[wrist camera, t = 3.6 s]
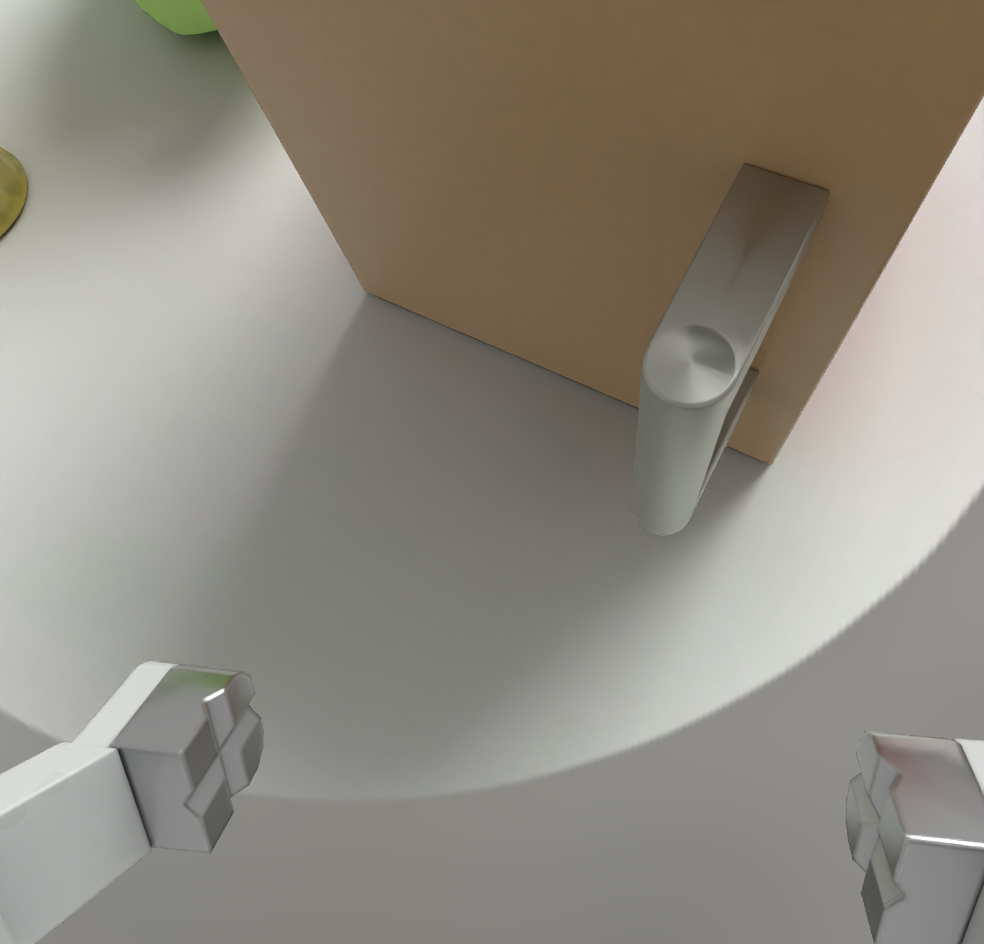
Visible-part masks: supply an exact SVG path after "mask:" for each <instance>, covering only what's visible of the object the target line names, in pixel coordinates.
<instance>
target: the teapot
mask: <svg viewBox="0 0 984 944" xmlns="http://www.w3.org/2000/svg"><path fill="white" fill-rule="evenodd" d="M135 1H136V3H137V4H138V5H139V6H140V7H141V8H142V9H143V10H144V11H145V12H146V13H147V14H148V15H150V16H151V17H152V18H153V19H155V20H156V21H158V22H159V23H160V24H162V25H163V26H165V27H166V28H168V29H169V30H171V31H173V32H175V33H177V34H183V35H189V34H200V33H205V32H210V31H216V30H217V28H216V27H215V25H214V23H213V21H212V20H211V18H210V16H209V14H208V12H207V11H206V9H205V7H204V5H203V4H202V2H201V0H135Z"/></svg>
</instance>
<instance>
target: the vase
mask: <svg viewBox="0 0 984 944" xmlns="http://www.w3.org/2000/svg"><path fill="white" fill-rule="evenodd" d="M26 194H27V178H26V174H25V172H24V169H23V167H22V165H21V164H20V162H19V161H18V160H17V159H16V157H14V156H13V155H12V154H10V153H9V152H7V151H6V150H4V149H2V148H1V147H0V236H2V235H3V234H4V233H5V232H6V231H7V230H8V229H9V228H10V226H11V225H12V224H13V223H14V221H15V220H16V218H17V217H18V215H19V214H20V212H21V210H22V208H23V206H24V203H25V199H26Z"/></svg>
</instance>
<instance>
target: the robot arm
mask: <svg viewBox="0 0 984 944" xmlns="http://www.w3.org/2000/svg"><path fill="white" fill-rule="evenodd" d="M254 694H255V691H254V687H253V684H252V680H251V677H250V675H248V674H246V673H244V672H242V671H234V670H225V669H217V668H209V667H201V666H193V665H185V664H179V665H177V664H170V663H162V662H154V661H147V662H145V663H143V664H140V665H138V666H137V667H136V668H135V669H134V671H133V672H132V673H131V674H130V675H129V676H128V678H127V679H126V680H125V681H124V682H123V683H122V685H121V686H120V687H119V688H118V689H117V690H116V692H115V693H114V694H113V695H112V696H111V697H110V699H109V700H108V701H107V702H106V703H105V704H104V706H103V707H102V708H101V709H100V710H99V711H98V713H97V714H96V715H95V716H94V717H93V718H92V720H91V721H90V722H89V723H88V724H87V725H86V727H85V728H84V729H83V730H82V731H81V732H80V734H79V735H78V736H77V737H76V738H75V739H74V741H73V742H72V743H66V742H60V743H59V744H57V745H55V746H53V747H51V748H49V749H47V750H45V751H43V752H42V753H40V754H38V755H36V756H34V757H32V758H30V759H28V760H27V761H24V762H22V763H21V764H19V765H17V766H15V767H13V768H11V769H9V770H7V771H5V772H3V773H1V774H0V944H36V943H37V942H39V941H40V940H41V939H42V938H44V937H45V936H46V935H47V934H49V933H50V932H51V931H52V930H53V929H55V928H56V927H57V926H59V925H60V924H61V923H62V922H64V921H65V920H66V919H67V918H68V917H70V916H71V915H72V914H74V913H75V912H76V911H77V910H79V909H80V908H81V907H82V906H84V905H85V904H86V903H87V902H88V901H90V900H91V899H92V898H94V897H95V896H96V895H97V894H99V893H100V892H101V891H102V890H104V888H106V887H107V886H108V885H110V884H111V883H112V882H114V881H115V880H116V879H117V878H118V877H120V876H121V875H122V874H123V873H125V872H126V871H127V870H128V869H130V868H131V867H132V866H133V865H135V864H136V863H137V862H138V861H140V860H141V859H142V858H143V857H145V856H146V855H147V854H148V853H150V852H151V850H152V849H151V847H155V848H164V849H173V850H182V851H192V852H201V853H211V852H212V850H213V848H214V846H215V845H216V843H217V841H218V839H219V837H220V836H221V834H222V832H223V830H224V829H225V827H226V825H227V823H228V821H229V820H230V818H231V816H232V814H233V813H234V811H233V806H232V801H231V797H232V796H234V795H235V794H237V793H238V792H240V791H241V790H242V789H244V788H245V787H247V786H248V785H249V784H250V782H251V780H252V778H253V776H254V774H255V772H256V770H257V769H258V765H259V761H260V758H261V754H262V750H263V727H262V722H261V717H260V716H259V715H258V714H257V713H256V712H255V711H254V710H253V709H252V708H251V707H250V706H249V705H248V704H249V703H250V701H251V699H252V698H253V696H254ZM856 756H857V760H858V763H859V767H860V770H861V773H859V774H858V775H856V776H855V777H854V778H852V779H851V780H850V782H849V787H848V793H847V798H846V828H847V835H848V842H849V846H850V850H851V855H852V859H853V860H854V861H855V862H856V863H857V864H858V865H859V866H860V867H861V868H862V870H863V871H864V872H865V873H866V876H865V880H864V884H863V888H862V892H861V895H862V898H863V902H864V906H865V909H866V914H867V918H868V921H869V925H870V929H871V933H872V937H873V941H874V944H984V741H977V740H965V739H952V740H951V739H948V738H938V737H926V736H916V735H904V734H892V733H881V732H870V731H869V732H868V731H864V733H863V735H862V736H861V738H860V740H859V744H858V748H857V752H856Z"/></svg>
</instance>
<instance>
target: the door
mask: <svg viewBox="0 0 984 944" xmlns="http://www.w3.org/2000/svg"><path fill="white" fill-rule="evenodd" d="M201 2H202V4H203V5H204V7H205V9H206V11H207V12H208V14H209V16H210V18H211V20H212V21H213V23H214V25H215V27H216V28H217V30H218V32H219V34H220V35H221V37H222V39H223V41H224V43H225V44H226V46H227V48H228V50H229V51H230V53H231V55H232V57H233V58H234V60H235V62H236V64H237V66H238V67H239V69H240V71H241V73H242V74H243V76H244V78H245V80H246V82H247V83H248V85H249V87H250V89H251V90H252V92H253V94H254V96H255V97H256V99H257V101H258V103H259V105H260V106H261V108H262V110H263V112H264V113H265V115H266V117H267V119H268V120H269V122H270V124H271V126H272V128H273V129H274V131H275V133H276V135H277V136H278V138H279V140H280V142H281V143H282V145H283V147H284V149H285V151H286V152H287V154H288V156H289V158H290V159H291V161H292V163H293V165H294V166H295V168H296V170H297V172H298V174H299V175H300V177H301V179H302V181H303V182H304V184H305V186H306V188H307V190H308V191H309V193H310V195H311V197H312V198H313V200H314V202H315V204H316V205H317V207H318V209H319V211H320V213H321V214H322V216H323V218H324V220H325V221H326V223H327V225H328V227H329V228H330V230H331V232H332V234H333V236H334V237H335V239H336V241H337V243H338V244H339V246H340V248H341V250H342V251H343V253H344V255H345V257H346V259H347V260H348V262H349V264H350V266H351V267H352V269H353V271H354V273H355V275H356V276H357V278H358V280H359V282H360V283H361V285H362V287H363V289H364V290H365V291H366V292H368V293H370V294H373V295H375V296H377V297H380V298H382V299H384V300H387V301H389V302H391V303H394V304H396V305H398V306H401V307H403V308H405V309H408V310H410V311H412V312H415V313H417V314H419V315H422V316H424V317H426V318H429V319H431V320H433V321H436V322H438V323H440V324H443V325H445V326H447V327H450V328H452V329H454V330H457V331H459V332H461V333H464V334H466V335H468V336H471V337H473V338H475V339H478V340H480V341H482V342H485V343H487V344H489V345H492V346H494V347H496V348H499V349H501V350H504V351H506V352H508V353H511V354H513V355H515V356H518V357H520V358H522V359H525V360H527V361H529V362H532V363H534V364H536V365H539V366H541V367H543V368H546V369H548V370H550V371H553V372H555V373H557V374H560V375H562V376H564V377H567V378H569V379H571V380H574V381H576V382H578V383H581V384H583V385H585V386H588V387H590V388H592V389H595V390H597V391H599V392H602V393H604V394H606V395H609V396H611V397H613V398H616V399H618V400H620V401H623V402H625V403H627V404H630V405H632V406H634V407H637V408H639V412H638V426H637V441H636V455H635V470H634V484H633V499H632V511H633V515H634V518H635V520H636V521H637V523H638V524H639V525H640V526H641V527H642V528H643V529H644V530H646V531H647V532H649V533H652V534H655V535H660V536H666V535H671V534H674V533H677V532H679V531H680V530H682V529H683V528H684V527H685V526H686V525H687V524H688V522H689V520H690V518H691V516H692V514H693V512H694V510H695V508H696V506H697V504H698V502H699V500H700V498H701V496H702V494H703V492H704V490H705V488H706V486H707V483H708V481H709V479H710V477H711V475H712V473H713V471H714V469H715V467H716V465H717V463H718V461H719V459H720V457H721V455H722V453H723V451H724V449H725V447H726V446H728V447H730V448H733V449H735V450H737V451H740V452H742V453H744V454H747V455H749V456H751V457H754V458H756V459H758V460H761V461H763V462H765V463H768V464H772V463H773V462H774V460H775V458H776V457H777V455H778V453H779V451H780V450H781V448H782V446H783V444H784V443H785V441H786V439H787V437H788V436H789V434H790V432H791V430H792V429H793V427H794V425H795V423H796V422H797V420H798V418H799V417H800V415H801V413H802V411H803V410H804V408H805V406H806V404H807V403H808V401H809V399H810V397H811V396H812V394H813V392H814V390H815V389H816V387H817V385H818V383H819V382H820V380H821V378H822V376H823V375H824V373H825V371H826V370H827V368H828V366H829V364H830V363H831V361H832V359H833V357H834V356H835V354H836V352H837V350H838V349H839V347H840V345H841V343H842V342H843V340H844V338H845V336H846V335H847V333H848V331H849V329H850V328H851V326H852V324H853V323H854V321H855V319H856V317H857V316H858V314H859V312H860V310H861V309H862V307H863V305H864V303H865V302H866V300H867V298H868V296H869V295H870V293H871V291H872V289H873V288H874V286H875V284H876V282H877V281H878V279H879V277H880V276H881V274H882V272H883V270H884V269H885V267H886V265H887V263H888V262H889V260H890V258H891V256H892V255H893V253H894V251H895V249H896V248H897V246H898V244H899V242H900V241H901V239H902V237H903V236H904V234H905V232H906V230H907V229H908V227H909V225H910V223H911V222H912V220H913V218H914V216H915V215H916V213H917V211H918V209H919V208H920V206H921V204H922V202H923V201H924V199H925V197H926V195H927V194H928V192H929V190H930V189H931V187H932V185H933V183H934V182H935V180H936V178H937V176H938V175H939V173H940V171H941V169H942V168H943V166H944V164H945V162H946V161H947V159H948V157H949V155H950V154H951V152H952V150H953V148H954V147H955V145H956V143H957V142H958V140H959V138H960V136H961V135H962V133H963V131H964V129H965V128H966V126H967V124H968V122H969V121H970V119H971V117H972V115H973V114H974V112H975V110H976V108H977V107H978V105H979V103H980V101H981V100H982V98H983V96H984V0H201Z"/></svg>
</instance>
